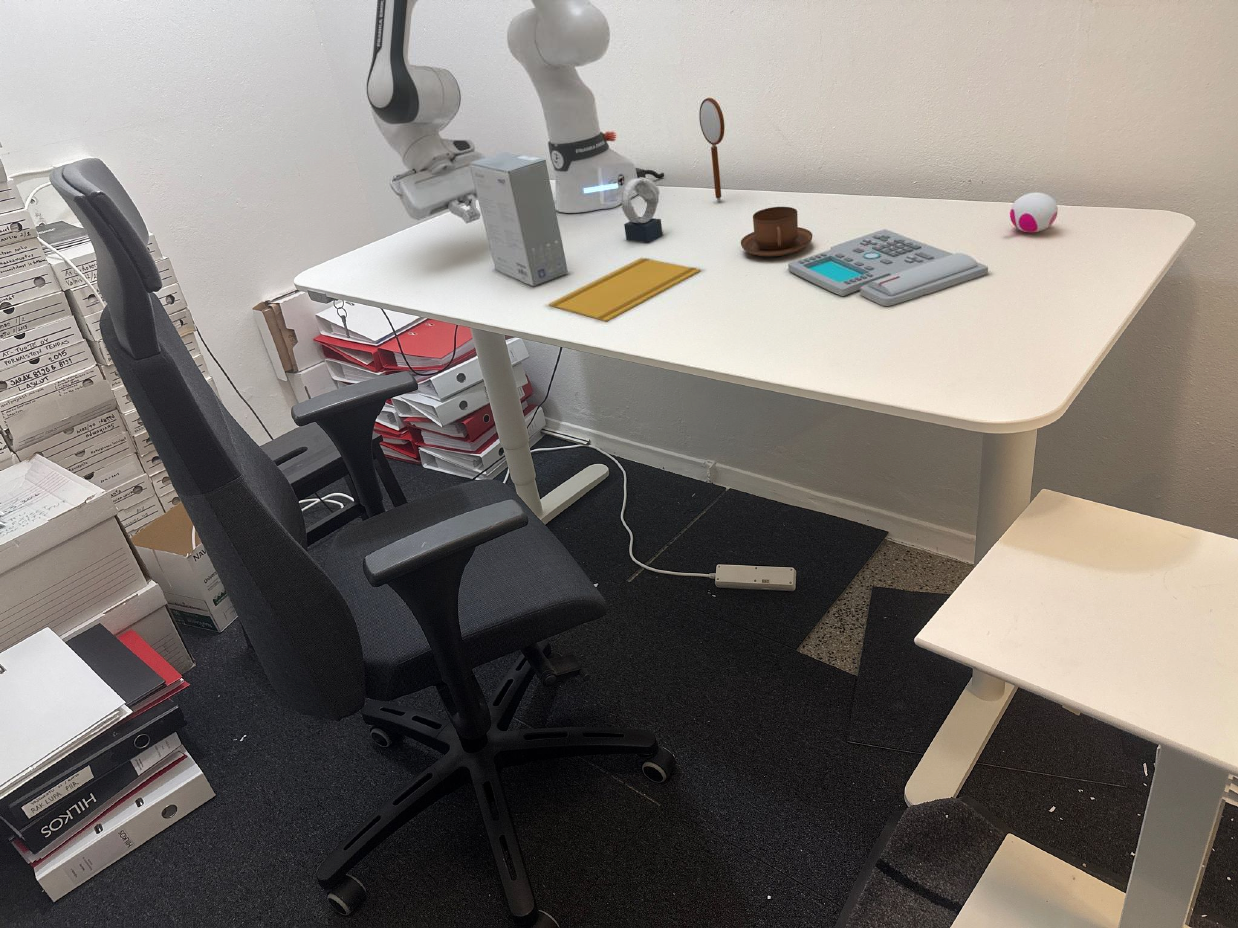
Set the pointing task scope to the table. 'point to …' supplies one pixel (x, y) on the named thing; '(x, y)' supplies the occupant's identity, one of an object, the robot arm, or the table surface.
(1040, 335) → the table surface
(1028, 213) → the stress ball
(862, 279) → the office telephone
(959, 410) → the table surface
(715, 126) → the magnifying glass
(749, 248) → the cup and saucer
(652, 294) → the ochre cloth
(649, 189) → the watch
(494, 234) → the hard drive box
